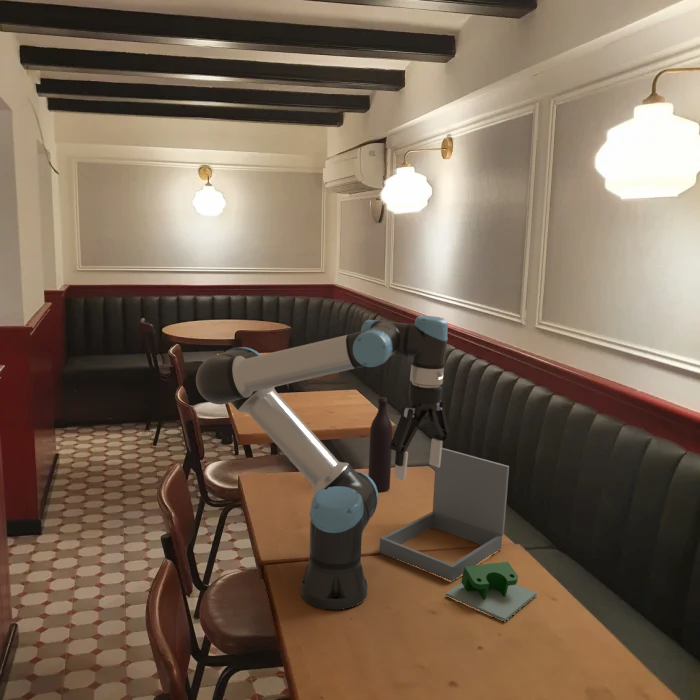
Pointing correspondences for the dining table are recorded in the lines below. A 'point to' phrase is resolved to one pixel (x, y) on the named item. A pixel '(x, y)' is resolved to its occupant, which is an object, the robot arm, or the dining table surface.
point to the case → (458, 513)
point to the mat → (494, 600)
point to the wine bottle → (380, 448)
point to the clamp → (489, 578)
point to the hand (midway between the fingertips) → (417, 471)
